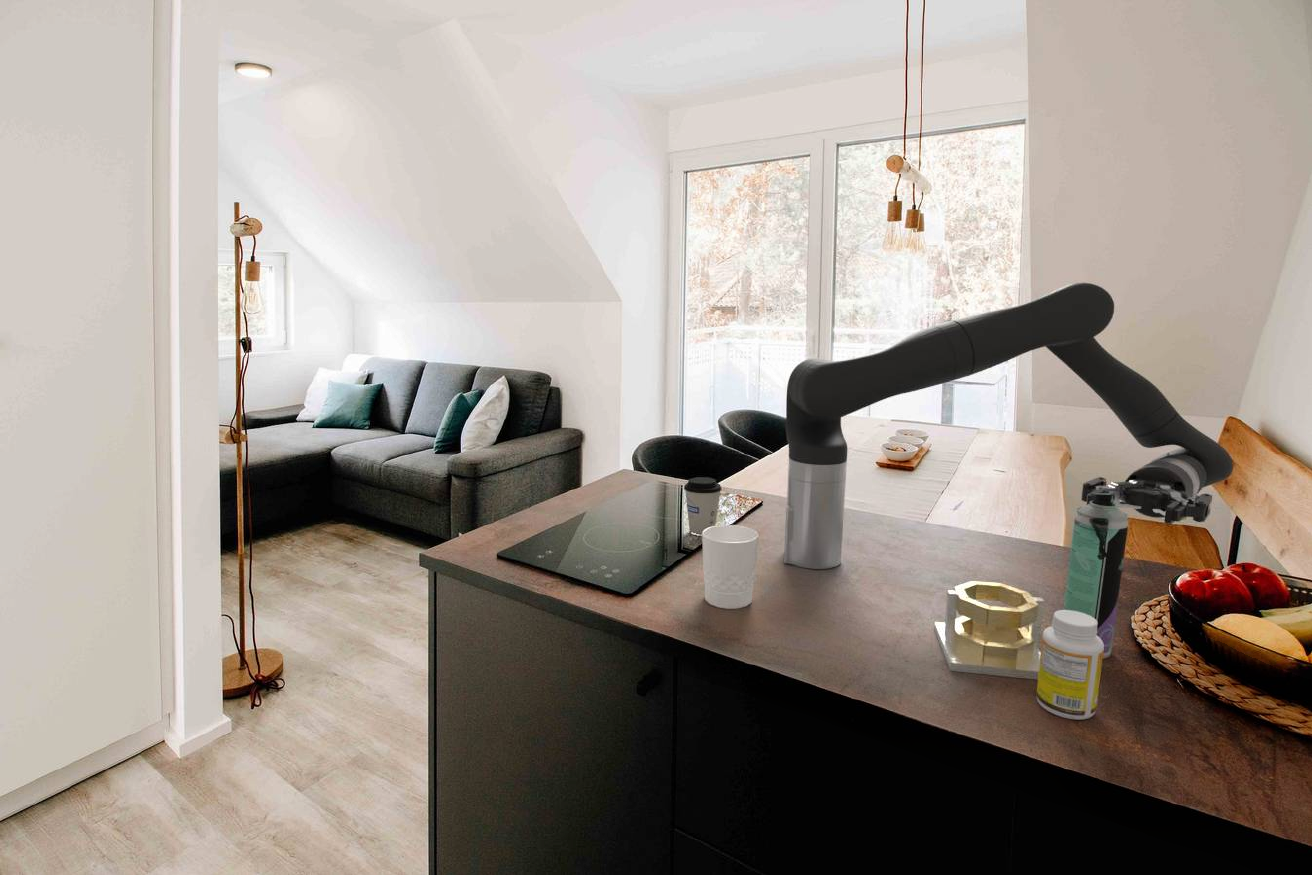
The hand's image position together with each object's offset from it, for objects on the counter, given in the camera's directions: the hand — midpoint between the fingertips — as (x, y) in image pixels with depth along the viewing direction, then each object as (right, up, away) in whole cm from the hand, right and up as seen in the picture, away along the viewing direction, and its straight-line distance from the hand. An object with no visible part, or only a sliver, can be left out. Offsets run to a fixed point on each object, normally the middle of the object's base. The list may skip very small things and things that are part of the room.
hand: (1129, 508), depth 93 cm
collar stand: (-21, -17, -6) cm, 28 cm away
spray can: (-8, -17, -4) cm, 20 cm away
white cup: (-52, -14, +9) cm, 54 cm away
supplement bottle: (-18, -20, -17) cm, 32 cm away
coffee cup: (-53, -9, +39) cm, 67 cm away
